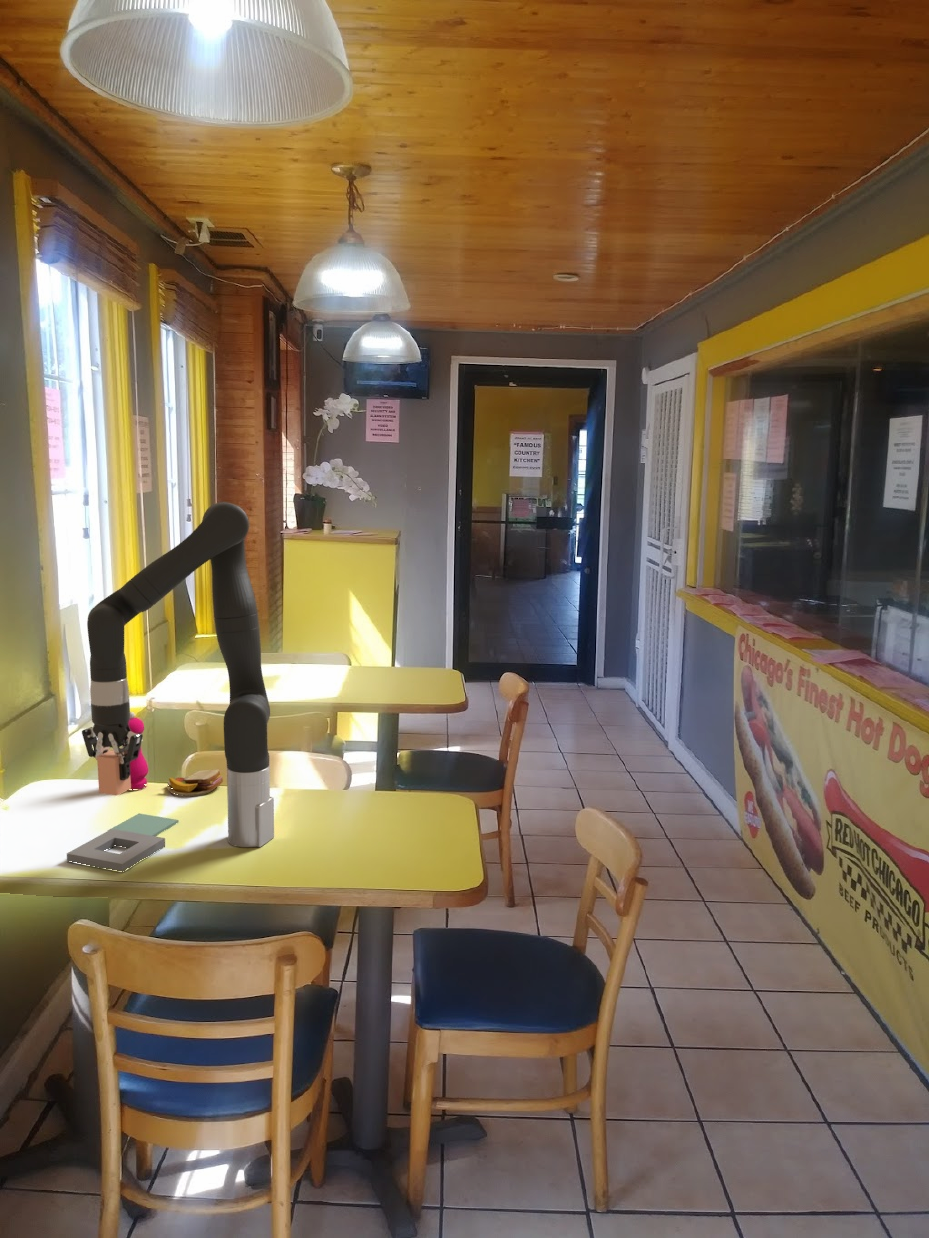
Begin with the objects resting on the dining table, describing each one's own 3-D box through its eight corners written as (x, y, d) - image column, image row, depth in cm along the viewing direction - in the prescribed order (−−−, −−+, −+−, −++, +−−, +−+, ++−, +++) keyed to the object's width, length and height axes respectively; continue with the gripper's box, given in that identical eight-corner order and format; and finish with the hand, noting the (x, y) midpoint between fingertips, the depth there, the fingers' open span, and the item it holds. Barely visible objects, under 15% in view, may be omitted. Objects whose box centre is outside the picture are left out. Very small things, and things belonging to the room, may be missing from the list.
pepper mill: (142, 792, 232) (140, 716, 229) (114, 791, 232) (111, 715, 229) (153, 782, 239) (150, 708, 236) (125, 781, 240) (122, 707, 236)
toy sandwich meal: (187, 778, 244) (187, 761, 243) (230, 785, 239) (230, 768, 239) (156, 793, 232) (156, 776, 232) (201, 801, 228) (200, 783, 227)
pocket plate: (165, 846, 200) (165, 838, 200) (122, 873, 187) (122, 863, 187) (112, 837, 205) (111, 828, 204) (67, 862, 192) (66, 853, 191)
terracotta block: (131, 788, 195) (129, 752, 194) (116, 795, 191) (114, 758, 189) (113, 785, 196) (111, 750, 195) (99, 792, 192) (97, 756, 191)
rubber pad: (178, 822, 214) (178, 819, 214) (148, 840, 204) (148, 837, 203) (139, 815, 217) (139, 813, 217) (107, 832, 207) (107, 830, 207)
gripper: (150, 698, 192) (154, 776, 194) (94, 692, 196) (98, 768, 199) (126, 707, 184) (131, 788, 187) (69, 700, 189) (74, 779, 192)
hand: (114, 777), depth 193 cm, fingers closed on terracotta block, 4 cm apart
